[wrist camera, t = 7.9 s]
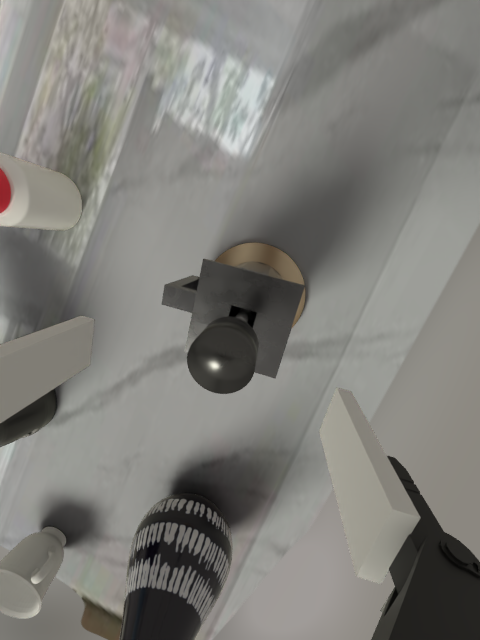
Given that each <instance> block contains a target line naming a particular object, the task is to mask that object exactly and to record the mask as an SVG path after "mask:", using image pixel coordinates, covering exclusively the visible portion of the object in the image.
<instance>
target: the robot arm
mask: <svg viewBox="0 0 480 640" xmlns="http://www.w3.org/2000/svg"><path fill="white" fill-rule="evenodd" d="M94 320H95V319H91V318H87V317H84V316H79V317H76V318H73V319H70V320H68V321H65V322H62V323H59V324H56V325H54V326H51V327H48V328H45V329H42V330H40V331H37V332H34V333H31V334H28V335H26V336H23V337H20V338H17V339H14V340H12V341H9V342H6V343H3V344H0V447H2V446H4V445H7V444H9V443H11V442H14V441H16V440H18V439H20V438H23V437H27V436H30V435H32V434H34V433H36V432H37V431H39V430H40V429H41V428H42V427H44V426H45V425H46V424H48V423H49V422H50V421H51V419H52V418H53V416H54V413H55V410H56V396H55V392H54V388H56V387H57V386H59V385H60V384H62V383H64V382H65V381H67V380H68V379H70V378H71V377H73V376H74V375H76V374H77V373H79V372H81V371H82V370H84V369H85V368H87V367H88V366H90V362H91V352H92V341H93V331H94ZM319 433H320V437H321V441H322V445H323V449H324V453H325V457H326V461H327V465H328V468H329V472H330V476H331V480H332V484H333V488H334V492H335V496H336V500H337V504H338V508H339V512H340V516H341V519H342V523H343V527H344V531H345V535H346V539H347V543H348V547H349V551H350V555H351V558H352V562H353V567H354V571H355V574H356V576H357V577H360V578H363V579H366V580H369V581H372V582H376V583H379V584H382V582H383V580H384V578H385V577H386V575H387V573H388V571H390V573H391V576H392V579H393V582H394V585H395V588H394V589H393V591H392V593H391V594H390V596H389V597H388V599H387V601H386V602H385V604H384V606H383V607H382V609H381V612H382V616H381V618H380V620H379V623H378V625H377V627H376V630H375V632H374V634H373V637H372V639H371V640H480V562H479V560H478V559H477V558H476V557H475V556H474V555H473V554H472V552H471V551H470V550H469V549H468V548H467V547H466V546H465V545H463V544H462V543H461V542H460V541H459V540H457V539H456V538H454V537H452V536H451V535H449V534H447V533H445V532H444V531H443V530H442V528H441V526H440V525H439V523H438V521H437V520H436V518H435V516H434V515H433V513H432V511H431V510H430V508H429V506H428V505H427V503H426V501H425V500H424V498H423V497H422V495H420V491H419V490H418V488H417V487H416V485H415V484H414V481H413V480H412V479H411V476H410V475H409V473H408V472H407V470H406V469H405V468H404V467H403V466H402V465H401V464H400V463H399V462H398V461H397V459H395V458H393V457H390V456H387V455H386V454H385V452H384V450H383V448H382V446H381V445H380V443H379V441H378V439H377V437H376V436H375V434H374V432H373V430H372V428H371V426H370V425H369V423H368V421H367V419H366V417H365V415H364V414H363V412H362V410H361V408H360V406H359V405H358V403H357V401H356V399H355V397H354V395H353V394H352V392H351V391H348V390H344V389H341V388H337V387H336V390H335V393H334V395H333V398H332V400H331V403H330V405H329V408H328V410H327V413H326V415H325V418H324V420H323V423H322V425H321V428H320V430H319Z"/></svg>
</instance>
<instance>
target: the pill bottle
mask: <svg viewBox="0 0 480 640" xmlns="http://www.w3.org/2000/svg"><path fill="white" fill-rule="evenodd" d="M81 214H82V199H81V195H80V192H79V190H78V188H77V186H76V185H75V184H74V182H73V181H72V180H71V179H70V178H69V177H67V176H66V175H64V174H62V173H59V172H57V171H54V170H51V169H48V168H45V167H42V166H39V165H36V164H33V163H30V162H27V161H24V160H21V159H19V158H16V157H13V156H10V155H7V154H4V153H1V152H0V226H5V227H17V228H30V229H44V230H57V231H64V230H68V229H71V228H72V227H74V226H75V225H76V224H77V223H78V221H79V219H80V217H81Z"/></svg>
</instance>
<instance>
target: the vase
mask: <svg viewBox="0 0 480 640" xmlns="http://www.w3.org/2000/svg"><path fill="white" fill-rule="evenodd" d="M231 561H232V538H231V532H230V529H229V526H228V523H227V521H226V519H225V517H224V516H223V514H222V512H221V511H220V510H219V509H218V508H217V506H215V505H214V504H213V503H212V502H211V501H210V500H208V499H206V498H205V497H202V496H200V495H197V494H192V493H180V494H175V495H171V496H169V497H167V498H164V499H162V500H161V501H159V502H158V503H157V504H155V505H154V506H153V507H152V508H151V509H150V510H149V511H148V512H147V514H146V515H145V516H144V518H143V519H142V521H141V523H140V524H139V526H138V529H137V531H136V533H135V536H134V538H133V541H132V545H131V548H130V552H129V559H128V567H127V578H126V590H125V601H124V611H123V619H122V627H121V633H120V640H195V638H196V636H197V634H198V632H199V631H200V629H201V627H202V625H203V624H204V622H205V620H206V619H207V617H208V615H209V613H210V612H211V610H212V608H213V606H214V605H215V603H216V601H217V599H218V598H219V596H220V594H221V592H222V590H223V588H224V586H225V583H226V580H227V577H228V574H229V570H230V565H231Z"/></svg>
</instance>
